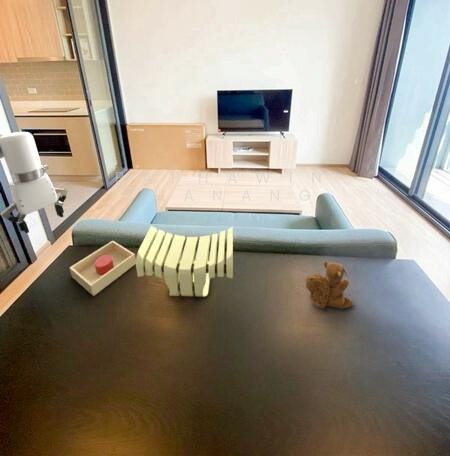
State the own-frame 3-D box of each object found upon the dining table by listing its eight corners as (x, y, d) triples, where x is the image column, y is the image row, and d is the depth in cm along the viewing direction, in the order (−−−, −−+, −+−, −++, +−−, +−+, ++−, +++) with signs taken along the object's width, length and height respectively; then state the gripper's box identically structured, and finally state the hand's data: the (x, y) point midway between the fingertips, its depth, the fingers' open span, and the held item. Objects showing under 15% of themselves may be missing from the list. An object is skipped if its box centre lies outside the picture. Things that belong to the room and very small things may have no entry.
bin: (72, 277, 90) (69, 267, 88) (114, 249, 104) (112, 240, 102) (93, 296, 83) (90, 286, 81) (136, 263, 96) (134, 254, 94)
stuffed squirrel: (354, 305, 78) (362, 273, 74) (318, 320, 74) (324, 287, 69) (332, 280, 87) (337, 251, 82) (298, 293, 82) (302, 262, 78)
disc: (93, 270, 92) (91, 262, 91) (108, 260, 97) (106, 252, 95) (102, 277, 89) (100, 269, 88) (117, 267, 94) (115, 258, 92)
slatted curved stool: (142, 300, 81) (134, 258, 74) (156, 263, 96) (151, 225, 89) (232, 302, 80) (232, 259, 73) (232, 264, 94) (232, 226, 88)
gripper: (54, 162, 80) (67, 207, 86) (-15, 182, 67) (5, 234, 73) (65, 167, 76) (77, 213, 82) (-6, 189, 63) (15, 243, 69)
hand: (44, 223), depth 78 cm, fingers open, 9 cm apart
